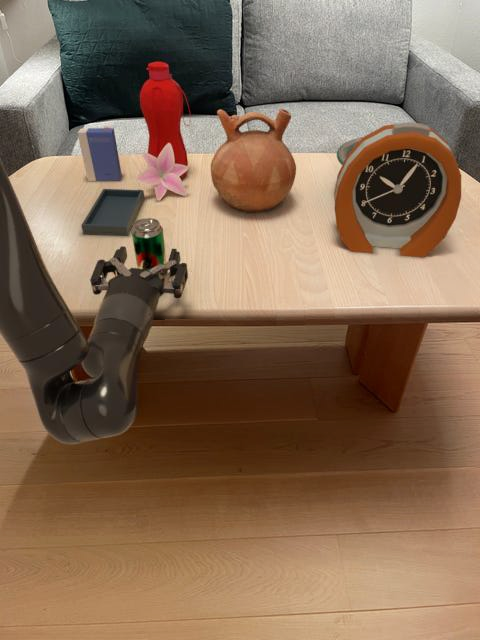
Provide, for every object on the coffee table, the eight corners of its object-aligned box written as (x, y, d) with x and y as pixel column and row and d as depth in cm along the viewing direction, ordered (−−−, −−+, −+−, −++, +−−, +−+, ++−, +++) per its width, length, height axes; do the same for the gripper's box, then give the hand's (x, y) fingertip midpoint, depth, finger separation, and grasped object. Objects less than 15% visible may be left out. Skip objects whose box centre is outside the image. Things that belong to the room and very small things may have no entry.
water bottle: (192, 183, 113) (184, 69, 96) (147, 182, 113) (132, 68, 97) (196, 167, 120) (190, 58, 103) (153, 166, 120) (141, 57, 104)
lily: (130, 203, 107) (136, 175, 99) (136, 164, 112) (142, 135, 104) (181, 215, 111) (191, 189, 103) (185, 177, 116) (194, 149, 108)
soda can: (173, 287, 82) (167, 227, 74) (146, 296, 80) (136, 235, 72) (162, 272, 85) (155, 213, 77) (136, 280, 84) (125, 221, 76)
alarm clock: (329, 249, 92) (347, 132, 77) (329, 224, 99) (346, 112, 84) (446, 259, 89) (488, 140, 74) (437, 232, 97) (474, 119, 82)
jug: (211, 222, 99) (207, 125, 86) (212, 184, 113) (209, 95, 100) (297, 220, 100) (307, 125, 87) (288, 183, 113) (295, 95, 100)
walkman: (121, 176, 116) (113, 126, 108) (120, 180, 114) (111, 130, 106) (89, 176, 116) (79, 126, 108) (87, 181, 114) (76, 130, 106)
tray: (127, 235, 95) (126, 226, 94) (83, 234, 95) (81, 225, 94) (144, 198, 107) (143, 190, 106) (105, 197, 107) (103, 188, 106)
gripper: (173, 297, 63) (190, 234, 75) (70, 292, 64) (103, 230, 76) (178, 337, 68) (193, 271, 80) (82, 332, 69) (111, 268, 81)
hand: (149, 251), depth 78 cm, fingers open, 8 cm apart
